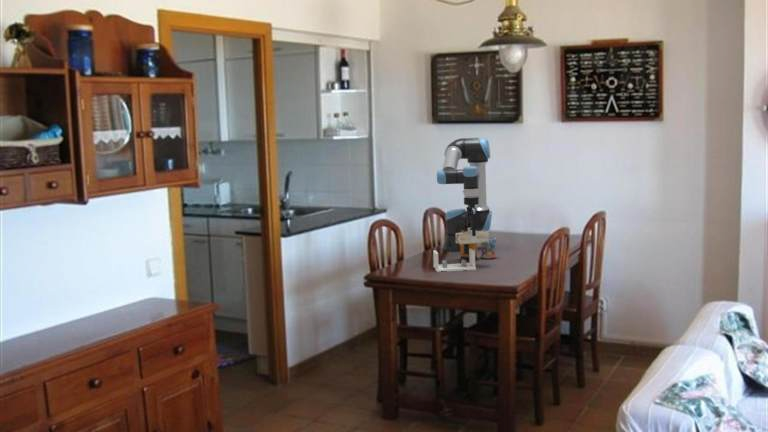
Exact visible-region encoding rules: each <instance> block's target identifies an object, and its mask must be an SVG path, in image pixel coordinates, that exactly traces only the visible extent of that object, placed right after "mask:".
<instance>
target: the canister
mask: <svg viewBox="0 0 768 432" xmlns="http://www.w3.org/2000/svg"><path fill="white" fill-rule="evenodd" d="M464 228H465V229H463V230H462V231H461V233H464V232H468V227H467V224H465V225H464ZM469 249H473V250H474V251H475V260H477V259H478V243H471V244H460V251H459V252H460V253H459V254H460V260H462V259H465V260H466V262H470V259H469Z"/></svg>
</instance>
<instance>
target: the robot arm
mask: <svg viewBox="0 0 768 432" xmlns="http://www.w3.org/2000/svg"><path fill="white" fill-rule="evenodd" d="M444 157H445V158H444V160H443V161H444V162H443V165H442V169H439V170H437V171H436V182H437V184H438V185H456V184H457V185H458V184H459V185H460V184H461V185H463V190H462V193H463V196H464V197H463V205H465V206H466V208H457V209H451V210H448V211H446V212H445V239H444V243H443V248H442V249H443V250H444V251H446V252H447V251H448V252H460V244H458V243H456V233H461V231H462V230H463V229H465V228H464V225H465V224H467V227H468V232H471V242H476V231H486V232H489V230H490V229H491V223H492V218H493V217H492V214H493V211H492V210H490V207H489V206H488V203H487V179H486V178H487V175H486V172H487V171H486V164H487V163H488V162H489V159H491V150H490V143H489V140H488V139H487V138H486V137H469V138H467V137H466V138H465V137H464V138H458V139H455V140H453V141H452V142H450V143H449V144H448V145H447V146H446V147H445V150H444ZM463 159H464V160H467V163H468V164H469V166H464V167H463V169H462V168H461V169H458V165H459V161H460V160H463Z"/></svg>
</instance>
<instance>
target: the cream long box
mask: <svg viewBox="0 0 768 432" xmlns="http://www.w3.org/2000/svg"><path fill="white" fill-rule="evenodd" d="M489 237H490V231H476V242H471V232H464V233H456V243H458V244H471V243H477V244H479V243H480V244H481V243H482V242H489Z"/></svg>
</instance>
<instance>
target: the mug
mask: <svg viewBox="0 0 768 432" xmlns="http://www.w3.org/2000/svg"><path fill="white" fill-rule="evenodd" d="M496 241H497V238H496V237H490V236H489V242H482V243H480V245H481V252H480V253H481V254H480V258H482V259H484V260H485V259H486V260H491V259H495V258H497V254H496V252H495V245H496Z"/></svg>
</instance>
